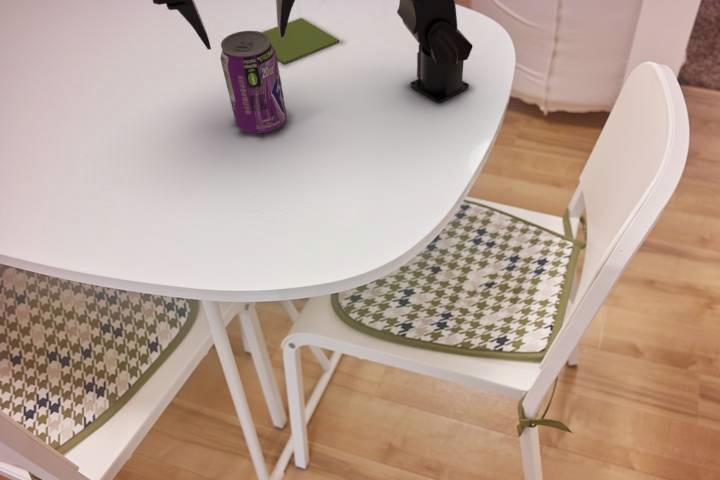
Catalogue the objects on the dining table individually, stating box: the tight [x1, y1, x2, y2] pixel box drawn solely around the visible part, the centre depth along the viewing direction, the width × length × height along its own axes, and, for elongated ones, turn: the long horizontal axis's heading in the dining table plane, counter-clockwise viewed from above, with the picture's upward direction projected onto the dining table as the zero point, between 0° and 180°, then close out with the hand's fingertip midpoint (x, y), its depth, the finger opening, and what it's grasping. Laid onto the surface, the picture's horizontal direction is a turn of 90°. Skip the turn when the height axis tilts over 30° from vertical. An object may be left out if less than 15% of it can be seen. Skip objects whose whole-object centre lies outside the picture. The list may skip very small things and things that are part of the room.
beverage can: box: [220, 30, 288, 134], centre depth 82 cm, size 7×7×12 cm
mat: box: [261, 17, 340, 65], centre depth 102 cm, size 11×11×1 cm
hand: (245, 41), depth 77 cm, fingers open, 9 cm apart
